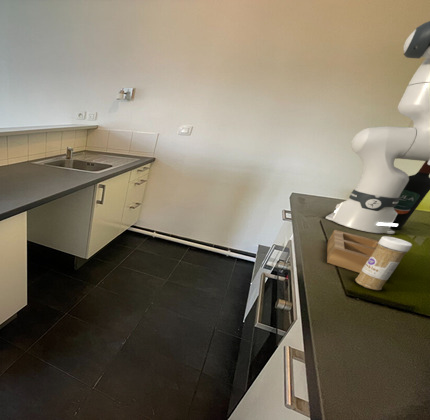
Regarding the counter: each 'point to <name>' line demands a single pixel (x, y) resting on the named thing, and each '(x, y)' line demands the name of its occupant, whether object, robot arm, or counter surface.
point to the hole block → (350, 250)
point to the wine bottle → (412, 195)
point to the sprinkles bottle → (382, 262)
